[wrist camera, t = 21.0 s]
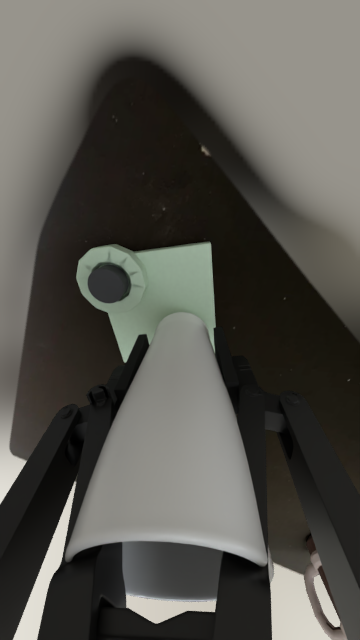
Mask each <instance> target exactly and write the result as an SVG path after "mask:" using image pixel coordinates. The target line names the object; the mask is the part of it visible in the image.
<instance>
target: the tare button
mask: <svg viewBox="0 0 360 640" xmlns="http://www.w3.org/2000/svg"><path fill="white" fill-rule="evenodd" d="M128 286H129V282H128V278H127V276H126V274H125V273H124V271H123V270H121V269H120V268H119V267H117V266H114V265H104V266H102V267H100V268H98V269H96V270H94V271H93V272H91V274H90V275H89V277H88V289H89V291H90V293H91V294H92V296H93V297H94V298H95V299H97V300H98V301H100V302H103V303H108V304H110V303H115V302H117V301H119V300H120V299H121V298H122V296H123V295H124V294H125V293H126V292H127V290H128Z"/></svg>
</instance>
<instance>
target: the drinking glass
mask: <svg viewBox="0 0 360 640" xmlns="http://www.w3.org/2000/svg"><path fill="white" fill-rule="evenodd" d="M237 421H238V419H237V416H236V413H235V410H234V407H233V404H232V401H231V399H230V396H229V393H228V390H227V388H226V385H225V382H224V379H223V376H222V373H221V370H220V367H219V364H218V361H217V358H216V355H215V352H214V349H213V346H212V343H211V339H210V334H209V330H208V328H207V326H206V324H205V323H204V321H203V320H202V319H200V318H199V317H198V316H196V315H194V314H191V313H187V312H176V313H172V314H170V315H168V316H166V317H165V318H163V319H162V320H161V321H160V322H159V324H158V325H157V327H156V330H155V333H154V336H153V339H152V341H151V343H150V345H149V347H148V349H147V352H146V354H145V356H144V358H143V360H142V362H141V364H140V366H139V368H138V370H137V372H136V374H135V377H134V379H133V381H132V383H131V385H130V387H129V389H128V391H127V393H126V395H125V397H124V399H123V401H122V403H121V405H120V408H119V410H118V412H117V414H116V416H115V418H114V421H113V423H112V425H111V427H110V430H109V432H108V435H107V437H106V439H105V442H104V444H103V447H102V449H101V452H100V455H99V457H98V460H97V463H96V465H95V468H94V471H93V474H92V476H91V479H90V482H89V485H88V488H87V490H86V493H85V496H84V499H83V502H82V505H81V508H80V511H79V514H78V517H77V520H76V523H75V526H74V529H73V532H72V535H71V538H70V541H69V544H68V546H67V549H66V552H65V561H66V562H70V561H72V559H73V557H74V556H75V555H76V554H77V553H79V552H80V551H82V550H85V549H87V548H91V547H94V546H98V545H103V544H109V543H117V542H122V568H123V577H124V583H125V590H126V595H130V596H135V597H141V598H147V599H155V600H166V601H183V602H207V601H217V592H218V583H219V574H220V566H221V559H222V554H223V551H225V552H229V553H232V554H235V555H238V556H241V557H243V558H246V559H248V560H250V561H252V562H254V563H256V564H257V565H259V566H260V567H264V566H266V564H267V562H268V569H269V579H270V583H271V581H272V579H273V576H274V567H273V562H272V558H271V554H270V549H269V544H268V558H267V553H266V549H265V544H264V539H263V534H262V528H261V523H260V518H259V513H258V508H257V503H256V498H255V493H254V488H253V483H252V479H251V474H250V470H249V465H248V461H247V457H246V453H245V449H244V445H243V441H242V438H241V434H240V430H239V427H238V424H237Z"/></svg>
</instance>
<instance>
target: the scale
mask: <svg viewBox="0 0 360 640" xmlns="http://www.w3.org/2000/svg"><path fill="white" fill-rule="evenodd" d="M104 265H114V266H117V267H119V268H120V269H121V270H123V271H124V273H125V274H126V276H127V278H128V282H129V286H128V290H127V292H126V293H125V294H124V295H123V296H122V298H121V299H120V300H119V301H117V302H115V303H110V304H108V303H103V302H100V301H98V300H97V299H95V298H94V297H93V296H92V294H91V293H90V291H89V289H88V277H89V275H90V274H91V272H93V271H94V270H96V269H98V268H100V267H102V266H104ZM76 279H77V282H78V285H79V287H80V290H81V293H82V295H83V296H84V297H85V298H86V299H87V300H88V301H89V302H90V303H91V304H92V305H93V306H94V307H96V308H97V309H100V310H103V311H105V312H108V315H109V318H110V321H111V324H112V327H113V330H114V333H115V336H116V339H117V342H118V345H119V348H120V351H121V354H122V358H123V361H124V362H127V359H128V357H129V355H130V353H131V351H132V348H133V346H134V344H135V342H136V339H137V337H138V335H140V334H147V337H148V342H149V345H150V343H151V341H152V339H153V336H154V333H155V330H156V327H157V325H158V324H159V322H160V321H161V320H162V319H163V318H165V317H166V316H168V315H170V314H172V313H176V312H187V313H191V314H194V315H196V316H198V317H199V318H200V319H202V320H203V321H204V323H205V324H206V326H207V328H208V330H209V334H210V339H211V343H212V346H213V349H214V352H215V346H214V330H213V328H215V327H216V326H215V308H214V290H213V272H212V254H211V243H210V242H209V241H208V242H201V243H193V244H186V245H179V246H171V247H164V248H157V249H149V250H142V251H135V252H133V251H131V250H129V249H126V248H124V247H122V246H119V245H117V244H112V245H105V246H99V247H95V248H92V249H90V250H89V251H88V252H87V253H86V254H85V255H84V256H83V257H82V258H81V259H80V260H79V263H78V269H77V275H76Z"/></svg>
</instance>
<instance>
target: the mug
mask: <svg viewBox="0 0 360 640" xmlns="http://www.w3.org/2000/svg"><path fill="white" fill-rule="evenodd" d="M306 546H307V548H308V550H309V553H310V555H311V561H312V563H311V564H309V565H308V566H307V568H306V572H305V575H304V580H305V585H306V591H307V594H308V597H309V600H310V603H311V605H312V608H313V611H314V614H315V617H316V618H317V620H318V622H319V623H320V625H321V627H322V628H323V630H324V632H325V633H326V634H327V635H328V636H329V637H330V638H331V639H332V640H347V637H346V634H345V631H344V628H343V625H342V622H341V619H340V617H339V614H338V611H337V608H336V605H335V602H334V599H333V596H332V593H331V590H330V587H329V584H328V581H327V578H326V576H325V573H324V570H323V567H322V564H321V561H320V558H319V555H318V552H317V549H316V546H315V543H314V540H313V537H312V535H311V536H310V537H309V538H308V540H307V544H306ZM319 574H320V576H321V579H322V581H323V583H324V585H325V588H326V590H327V592H328V594H329V596H330V599H331V601H332V603H333V606H334V608H335V610H336V613H337V615H338V617H339V619H340V622H341V623H340V627H334V626H333V625H332V624H331V623H330V622H329V621H328V619H327V618H326V616H325V615H324V613H323V610H322V608H321V605H320V602H319V599H318V597H317V594H316V591H315V588H314V583H313V581H314V577H315V576H317V575H319Z"/></svg>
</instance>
